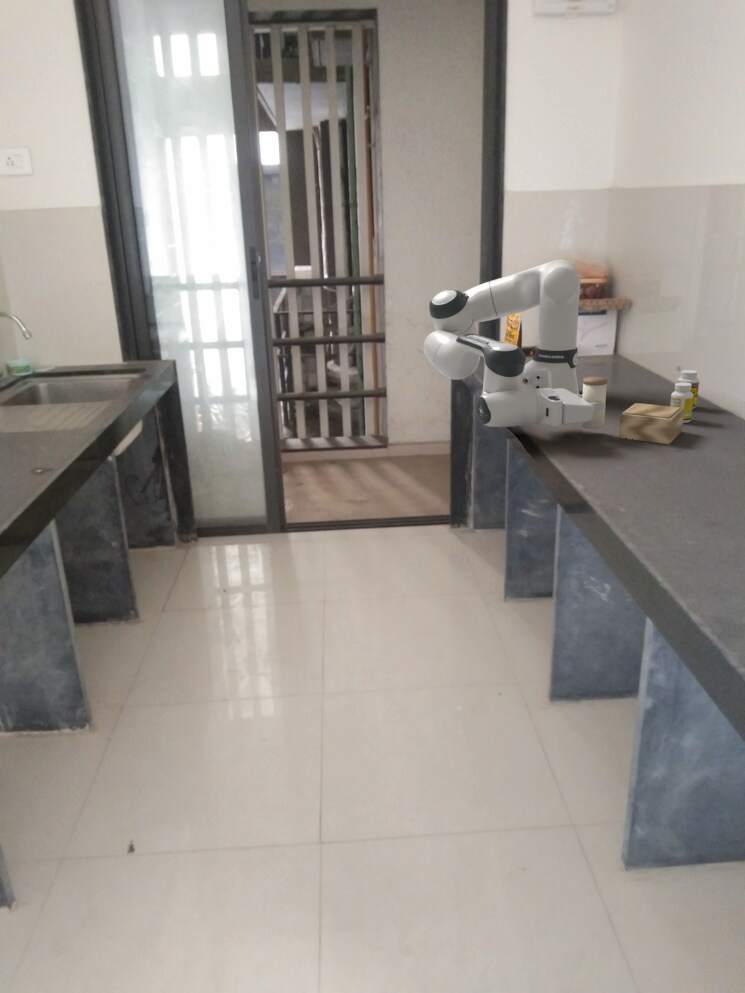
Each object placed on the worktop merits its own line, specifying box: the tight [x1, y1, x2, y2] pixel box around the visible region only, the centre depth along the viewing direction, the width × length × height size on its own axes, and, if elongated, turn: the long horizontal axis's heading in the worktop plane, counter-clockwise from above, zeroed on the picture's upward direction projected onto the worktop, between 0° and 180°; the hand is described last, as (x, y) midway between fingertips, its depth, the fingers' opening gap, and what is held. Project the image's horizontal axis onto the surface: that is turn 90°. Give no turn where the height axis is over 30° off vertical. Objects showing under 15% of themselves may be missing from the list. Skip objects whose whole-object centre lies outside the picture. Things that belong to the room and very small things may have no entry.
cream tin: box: [580, 376, 608, 430], centre depth 192 cm, size 6×6×12 cm
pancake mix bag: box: [503, 311, 524, 350], centre depth 296 cm, size 7×19×28 cm, turn 2°
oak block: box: [618, 402, 684, 445], centre depth 191 cm, size 12×12×6 cm
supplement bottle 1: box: [676, 369, 700, 410], centre depth 213 cm, size 6×6×10 cm
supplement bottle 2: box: [669, 382, 693, 424], centre depth 201 cm, size 5×5×10 cm
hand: (597, 401), depth 192 cm, fingers closed on cream tin, 6 cm apart
